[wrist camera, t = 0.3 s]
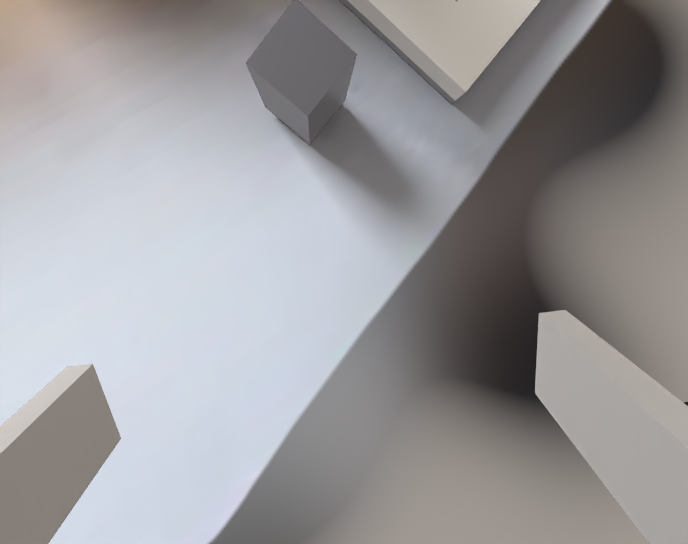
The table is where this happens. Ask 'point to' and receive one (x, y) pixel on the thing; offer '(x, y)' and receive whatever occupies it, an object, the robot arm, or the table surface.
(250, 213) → the table surface
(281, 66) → the plug
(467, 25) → the socket
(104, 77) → the table surface
